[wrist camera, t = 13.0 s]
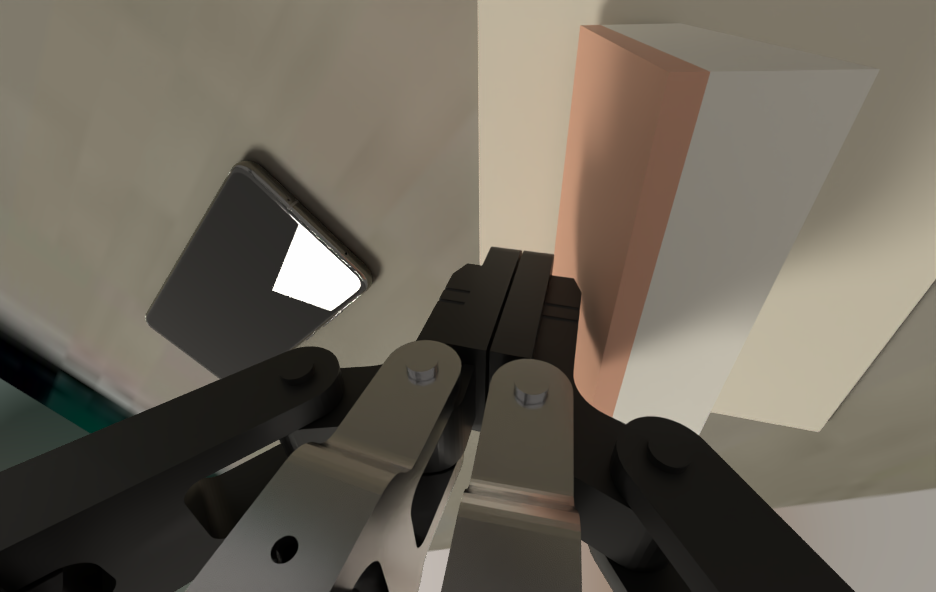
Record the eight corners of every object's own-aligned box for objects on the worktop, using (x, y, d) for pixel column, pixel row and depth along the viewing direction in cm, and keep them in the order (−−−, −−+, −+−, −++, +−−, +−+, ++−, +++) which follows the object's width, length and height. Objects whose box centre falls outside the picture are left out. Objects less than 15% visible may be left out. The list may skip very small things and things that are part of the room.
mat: (480, -128, 10) (476, -131, 10) (1276, -197, 7) (1305, -206, 7) (482, 363, 21) (480, 369, 20) (815, 423, 17) (819, 432, 17)
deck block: (580, 24, 11) (668, 72, 5) (680, 23, 11) (880, 69, 5) (546, 323, 17) (571, 493, 11) (610, 324, 17) (667, 497, 11)
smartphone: (139, 320, 26) (235, 156, 16) (154, 310, 27) (253, 147, 17) (239, 395, 28) (374, 287, 18) (250, 383, 29) (385, 273, 19)
